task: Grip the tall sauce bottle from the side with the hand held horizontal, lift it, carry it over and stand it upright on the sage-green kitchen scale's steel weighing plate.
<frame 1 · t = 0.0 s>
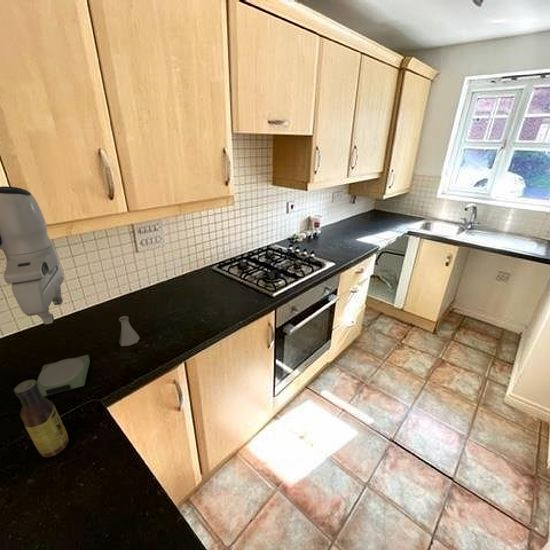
hand: (54, 312, 74), 31 cm above the countertop, tool pointing down, fingers open, 8 cm apart
flask: (129, 341, 114), on the countertop
scale: (64, 378, 97), on the countertop
sauce bottle: (55, 447, 75), on the countertop
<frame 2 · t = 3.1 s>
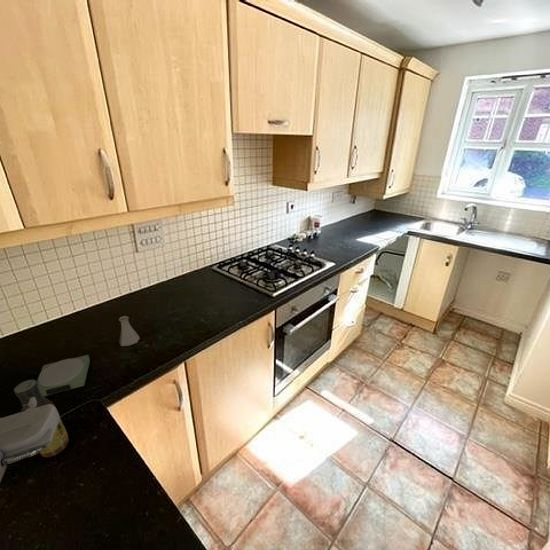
hand: (0, 409, 56), 24 cm above the countertop, tool horizontal, fingers open, 8 cm apart
nothing on the countertop moved.
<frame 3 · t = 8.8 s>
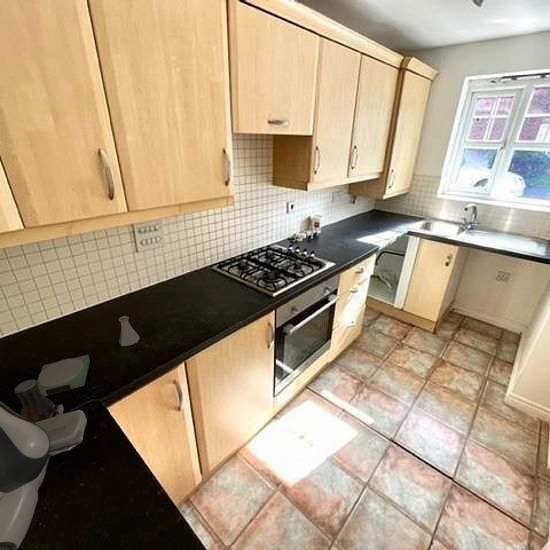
hand: (40, 412, 71), 11 cm above the countertop, tool horizontal, fingers closed on sauce bottle, 6 cm apart
sauce bottle: (55, 447, 75), on the countertop, touching gripper
everything else where it was.
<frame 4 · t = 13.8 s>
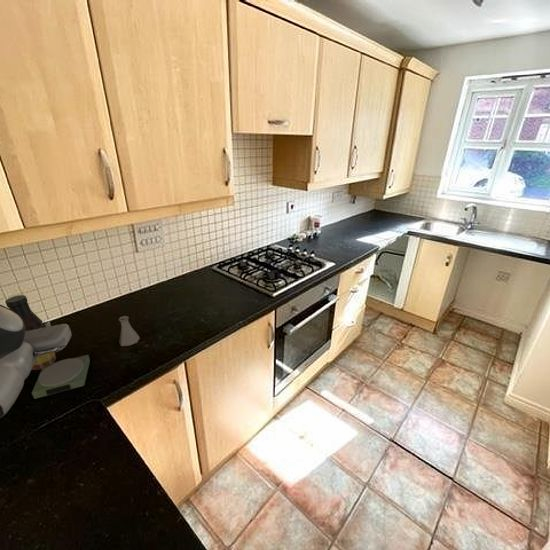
hand: (29, 327, 78), 26 cm above the countertop, tool horizontal, fingers closed on sauce bottle, 6 cm apart
sauce bottle: (43, 363, 81), point 14 cm above the countertop, touching gripper
everything else where it was.
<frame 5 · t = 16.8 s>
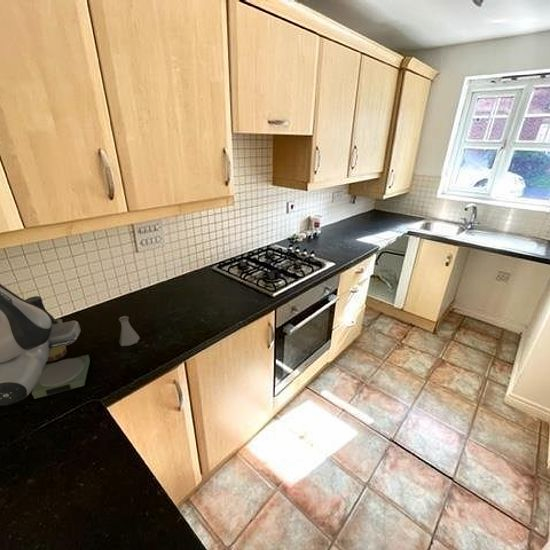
hand: (44, 324, 89), 20 cm above the countertop, tool horizontal, fingers closed on sauce bottle, 6 cm apart
sauce bottle: (56, 356, 93), point 9 cm above the countertop, touching gripper
everything else where it was.
when the fingers open (14 cm above the countertop, at t = 19.1 s): sauce bottle stays where it is, resting on scale.
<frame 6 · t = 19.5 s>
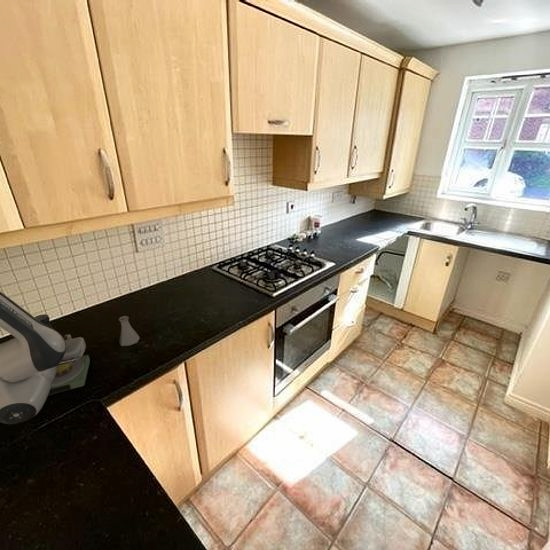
hand: (50, 340, 92), 14 cm above the countertop, tool horizontal, fingers open, 8 cm apart
sauce bottle: (62, 371, 96), point 3 cm above the countertop, touching scale
everything else where it was.
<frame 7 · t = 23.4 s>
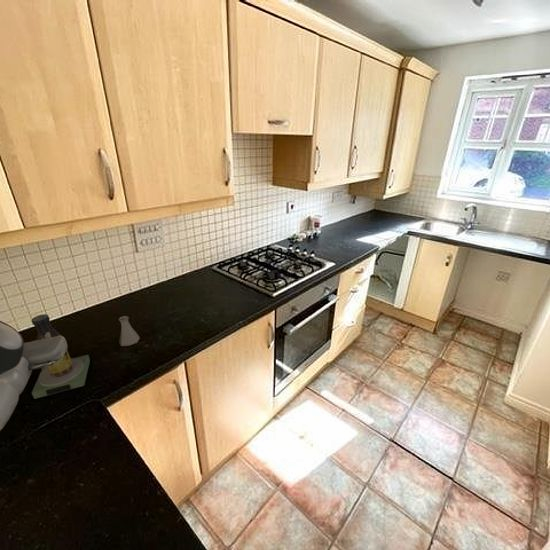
hand: (25, 339, 77), 23 cm above the countertop, tool horizontal, fingers open, 8 cm apart
nothing on the countertop moved.
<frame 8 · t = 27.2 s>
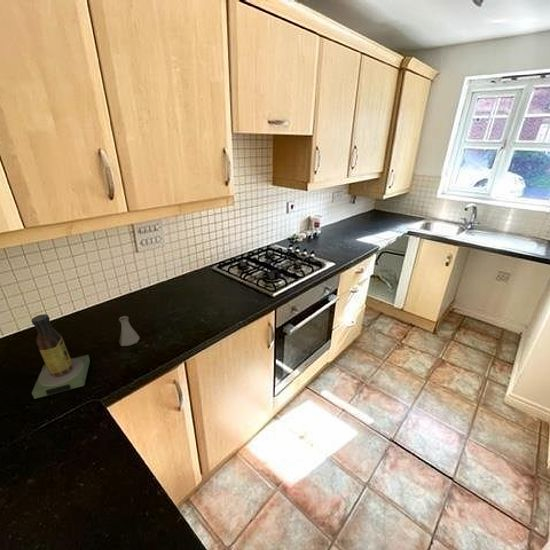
nothing on the countertop moved.
at the end: sauce bottle inside the target area on the scale (0.2 cm from its centre), point 2.8 cm above the scale's base; sauce bottle tilted 0°; the gripper is holding nothing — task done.
